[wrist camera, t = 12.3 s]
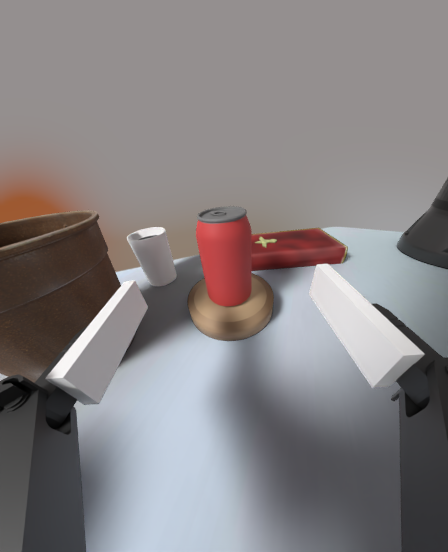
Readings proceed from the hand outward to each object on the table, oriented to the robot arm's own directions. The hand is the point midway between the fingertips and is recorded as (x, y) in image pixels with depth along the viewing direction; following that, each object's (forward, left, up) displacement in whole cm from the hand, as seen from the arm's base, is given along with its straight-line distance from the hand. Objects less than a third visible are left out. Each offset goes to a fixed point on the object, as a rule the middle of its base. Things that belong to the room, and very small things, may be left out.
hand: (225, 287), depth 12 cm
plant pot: (+20, -5, -12) cm, 23 cm away
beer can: (0, -10, -9) cm, 13 cm away
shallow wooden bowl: (0, -10, -11) cm, 15 cm away
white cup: (+14, -20, -12) cm, 27 cm away
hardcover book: (-13, -25, -12) cm, 31 cm away
